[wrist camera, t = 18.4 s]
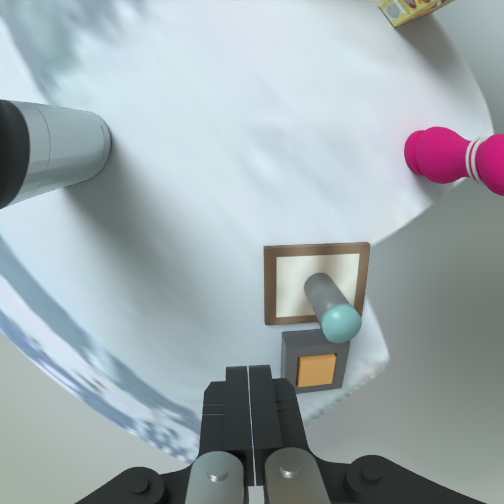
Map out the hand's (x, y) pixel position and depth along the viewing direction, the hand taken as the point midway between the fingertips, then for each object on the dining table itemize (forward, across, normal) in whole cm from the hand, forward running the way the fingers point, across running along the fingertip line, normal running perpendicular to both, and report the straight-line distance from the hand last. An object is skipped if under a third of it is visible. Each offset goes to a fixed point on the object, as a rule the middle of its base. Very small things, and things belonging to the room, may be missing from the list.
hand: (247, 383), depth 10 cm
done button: (+28, -10, +22) cm, 37 cm away
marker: (+28, -10, +10) cm, 31 cm away
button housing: (+29, -10, +22) cm, 38 cm away
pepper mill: (+29, -25, -8) cm, 39 cm away
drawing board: (+29, -10, +10) cm, 32 cm away
